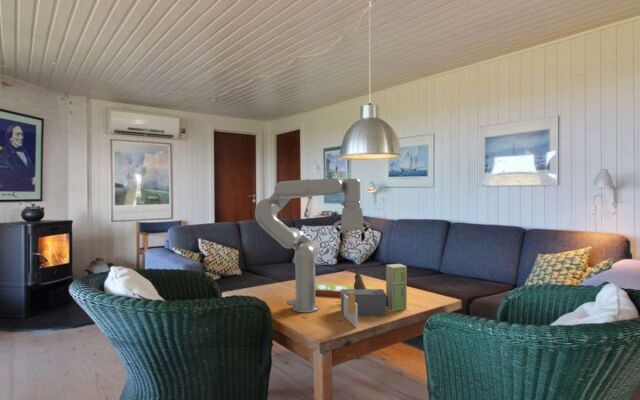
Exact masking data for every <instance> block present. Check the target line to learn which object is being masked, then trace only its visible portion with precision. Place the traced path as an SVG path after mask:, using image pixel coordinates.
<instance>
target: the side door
mask: <svg viewBox="0 0 640 400" xmlns="http://www.w3.org/2000/svg"><path fill="white" fill-rule="evenodd" d="M342 317H344V318H345V319H346V320H347V321H348V322H349V323H351V324H352V326H354V327H355V328H357V327H358V326H359V324H358V321H359V320H358V317H359V316H358V304H357V303H355V292H354V291H348V296H347V295H344V313H343V316H342Z"/></svg>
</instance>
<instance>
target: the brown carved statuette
mask: <svg viewBox="0 0 640 400" xmlns="http://www.w3.org/2000/svg"><path fill="white" fill-rule="evenodd" d="M353 289H367V288H366V285H365V283H364V280H363V277H362V276H361V271H360V269H355V275H354V283H353Z"/></svg>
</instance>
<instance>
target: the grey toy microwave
mask: <svg viewBox="0 0 640 400" xmlns="http://www.w3.org/2000/svg"><path fill="white" fill-rule="evenodd" d="M348 291H354V292H355V303H357V304H358V317H386V316H387V307H388V304H389V301H388V296H386V291H385V290H384V288H379V289H378V288H366V289H354V288H353V289H352V288H351V289H350V288H349V289H347V288H345V289H343V288H341V289H340V311H341V316H342V317H344V316H343V313H344V295H347V296H348Z"/></svg>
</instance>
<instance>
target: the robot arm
mask: <svg viewBox="0 0 640 400" xmlns="http://www.w3.org/2000/svg"><path fill="white" fill-rule="evenodd" d="M273 190H274V192H273V193H272V195H270V197H268V198H264V199H261V200H259V202H257V204H256V206H255V211H254V217H255V220H256V221H257V224H258V225H259V226H260V227H261V228H262V229H263V230H264V231H265V232H266V233H267V234H268V235H269V236H271V237H272V238H273V239H274V240H276V241H277V243H279V244H280V246H282V247H283V248H285V249H293V250H294V265H295V267H294V269H295V272H294V273H295V298H294V299H287V300H286V301H285V302H286V303H285V304H286V305H288V306H292V310H293V311H295V312H296V313H306V314H308V313H312V312H317V311H318V310H319V305H318V304H317V303H316V263H315V260H316V257H317V256H318V254H319V247H318V245H317V244H316V243H315V241H313V240H312V239H311V238H309V236H307V235H306V234H305V233H304V232H303V231H301V230H300V229H299V228H297V227H293V226H292V227H288V225H286V224H285V223H284V222H282V221H281V220H280V219H279V218H277V217H276V216H275V215H277V214H278V213H280V212H281V210H282V209H283V208H284V207H285V206H286V204H288V202H289V201H290V200H291V199H300V198H302V199H303V198H311V197H319V196H330V195H331V196H332V195H339V194H343V195H344V196H343V202H340V206H343V207H342V210H341V216H340V217H341V218H340V220H338V221H336V222H335V223H333V226H334V228H335V230H336V231H337V232H338V233H339V241H340V242H341V243H342V242H343V241H344V240H343V239H344V233H343V232H344V230H360V231H361V233H360V241H361V242H364V240H365V237H366V232H367V231H368V230H369V228H370V227H371V223H370V222H368V221H366V220H364V213H363V208H362V207H361V181H360V179H359V178H338V177H330V178H319V179H318V178H316V179H295V180H284V181H283V180H282V181H278V182H277V183H276V184H275V186H274V189H273ZM340 224H341V228H339V226H338V225H340ZM364 224H365V225H366V227H365V228H364Z"/></svg>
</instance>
